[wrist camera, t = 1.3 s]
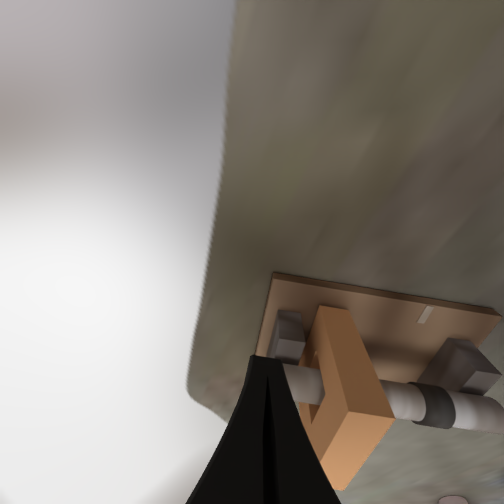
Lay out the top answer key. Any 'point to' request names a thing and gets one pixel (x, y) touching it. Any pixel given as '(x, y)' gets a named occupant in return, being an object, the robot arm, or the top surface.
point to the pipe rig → (392, 349)
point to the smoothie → (453, 500)
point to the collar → (343, 397)
